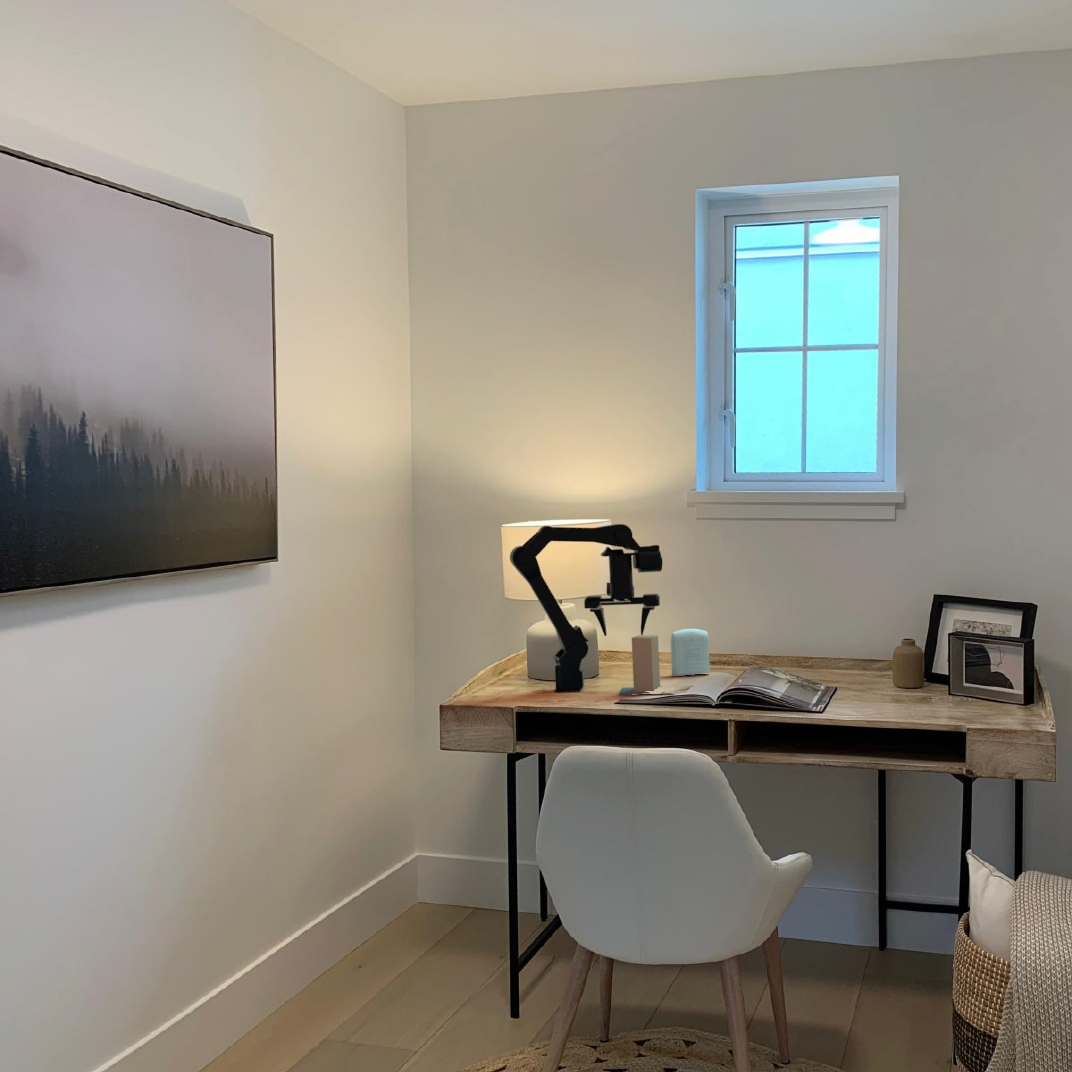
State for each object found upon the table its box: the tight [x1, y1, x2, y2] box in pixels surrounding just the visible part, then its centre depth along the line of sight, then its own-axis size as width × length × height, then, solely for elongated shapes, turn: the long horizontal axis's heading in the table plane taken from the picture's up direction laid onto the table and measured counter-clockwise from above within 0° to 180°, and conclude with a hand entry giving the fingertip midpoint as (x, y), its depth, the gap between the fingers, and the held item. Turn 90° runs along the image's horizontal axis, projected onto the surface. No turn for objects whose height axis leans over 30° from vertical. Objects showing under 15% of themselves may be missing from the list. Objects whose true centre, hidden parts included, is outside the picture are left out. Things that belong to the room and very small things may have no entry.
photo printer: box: [670, 628, 710, 677], centre depth 317 cm, size 10×4×12 cm, turn 98°
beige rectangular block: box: [631, 634, 661, 691], centre depth 291 cm, size 5×5×13 cm
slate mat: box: [618, 686, 649, 697], centre depth 291 cm, size 13×9×1 cm
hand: (623, 635), depth 302 cm, fingers open, 9 cm apart
